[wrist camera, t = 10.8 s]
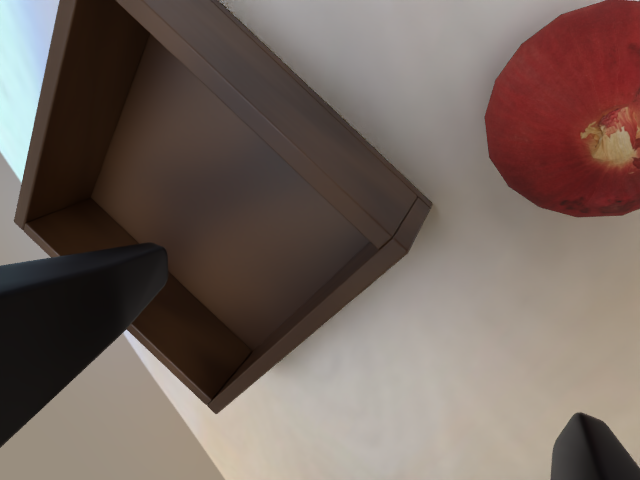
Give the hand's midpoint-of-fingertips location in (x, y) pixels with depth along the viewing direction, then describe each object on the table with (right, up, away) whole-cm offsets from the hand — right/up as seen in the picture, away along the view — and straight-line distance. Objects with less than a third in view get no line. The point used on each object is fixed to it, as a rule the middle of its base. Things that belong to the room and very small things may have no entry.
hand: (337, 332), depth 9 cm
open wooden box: (-6, +4, +15) cm, 17 cm away
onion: (+9, +7, +6) cm, 13 cm away
